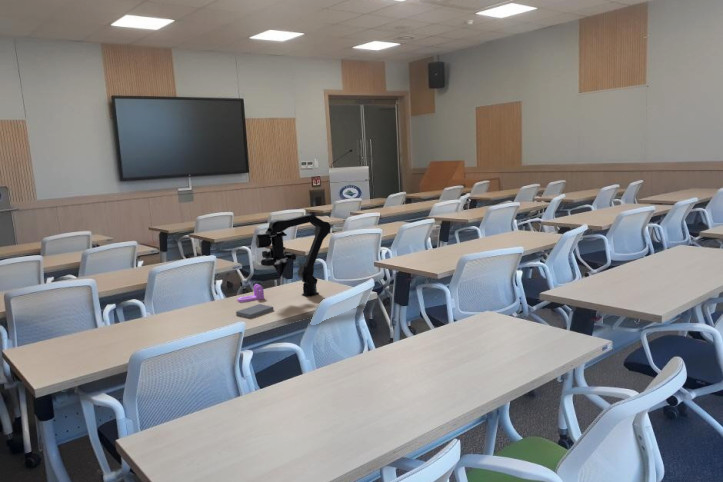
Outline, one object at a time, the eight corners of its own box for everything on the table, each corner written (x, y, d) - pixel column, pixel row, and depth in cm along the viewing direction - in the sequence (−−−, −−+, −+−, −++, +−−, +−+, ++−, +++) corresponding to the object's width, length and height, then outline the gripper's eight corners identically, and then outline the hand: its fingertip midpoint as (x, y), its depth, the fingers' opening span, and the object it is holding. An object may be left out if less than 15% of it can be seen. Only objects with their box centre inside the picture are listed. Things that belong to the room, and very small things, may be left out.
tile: (259, 303, 272) (236, 311, 261) (273, 306, 266) (250, 314, 255) (259, 308, 272) (236, 316, 262) (273, 311, 266) (250, 319, 255)
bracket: (261, 296, 294) (260, 283, 293) (264, 298, 289) (262, 285, 288) (236, 300, 289) (235, 287, 288) (238, 303, 284) (237, 289, 283)
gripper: (280, 241, 292) (283, 271, 295) (252, 247, 278) (255, 278, 281) (295, 242, 285) (298, 273, 287) (267, 249, 271) (270, 281, 273)
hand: (280, 276), depth 282 cm, fingers closed
